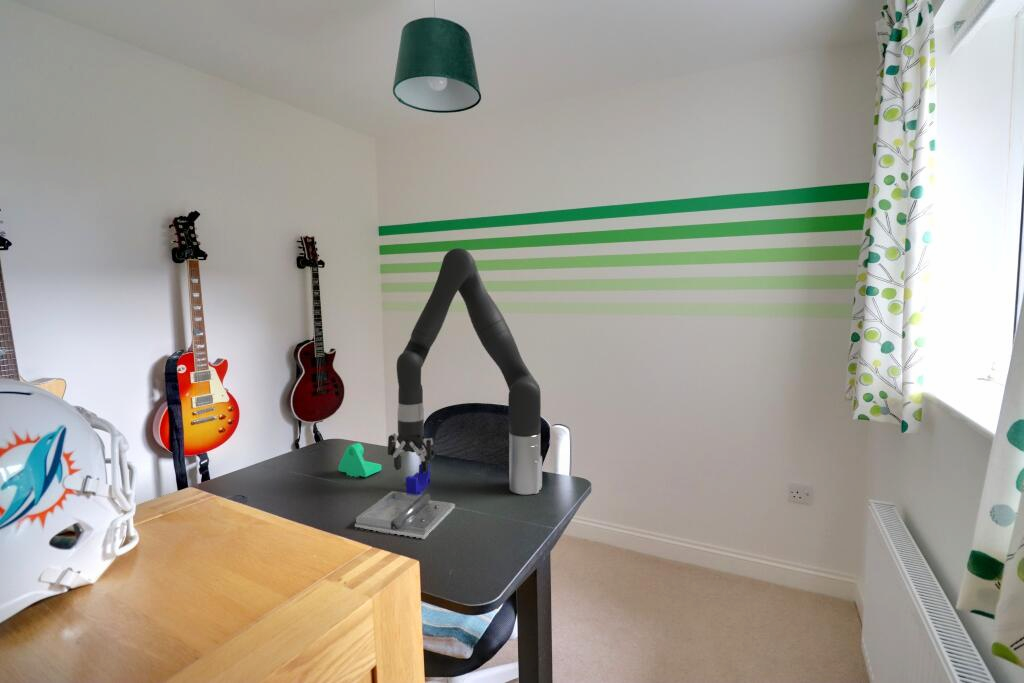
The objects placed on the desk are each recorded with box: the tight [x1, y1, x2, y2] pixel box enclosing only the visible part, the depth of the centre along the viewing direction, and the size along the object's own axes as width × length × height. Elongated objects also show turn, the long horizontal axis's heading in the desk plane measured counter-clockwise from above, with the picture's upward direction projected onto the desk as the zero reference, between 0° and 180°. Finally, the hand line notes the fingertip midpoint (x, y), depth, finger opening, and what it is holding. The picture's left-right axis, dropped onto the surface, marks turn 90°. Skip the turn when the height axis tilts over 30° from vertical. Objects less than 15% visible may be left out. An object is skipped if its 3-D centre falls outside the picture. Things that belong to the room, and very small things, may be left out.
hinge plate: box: [354, 490, 456, 540], centre depth 124 cm, size 19×18×3 cm
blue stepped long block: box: [405, 463, 431, 495], centre depth 141 cm, size 12×4×6 cm, turn 170°
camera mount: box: [337, 442, 382, 478], centre depth 155 cm, size 12×8×10 cm, turn 62°
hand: (411, 470), depth 141 cm, fingers open, 8 cm apart
